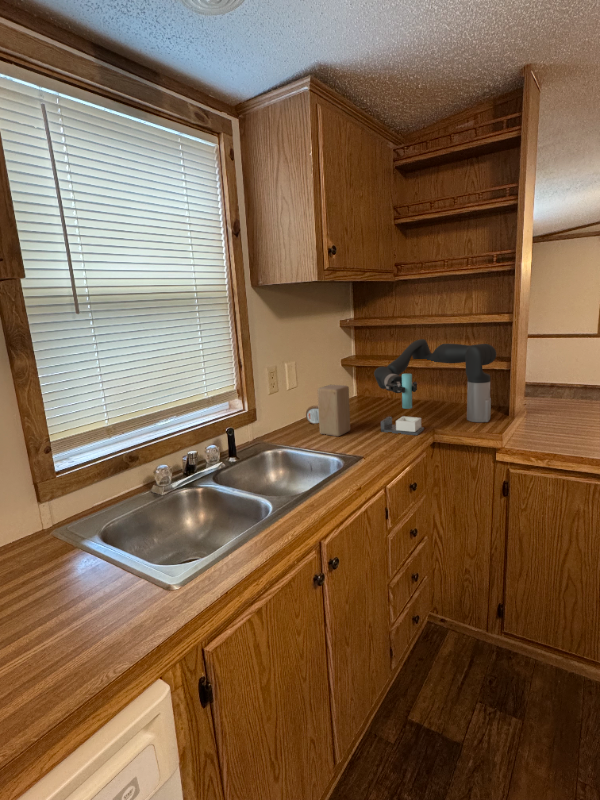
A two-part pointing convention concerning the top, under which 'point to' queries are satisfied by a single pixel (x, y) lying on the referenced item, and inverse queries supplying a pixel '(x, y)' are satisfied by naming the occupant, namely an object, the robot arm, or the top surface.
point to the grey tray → (388, 427)
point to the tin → (313, 414)
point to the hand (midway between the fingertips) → (409, 389)
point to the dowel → (407, 391)
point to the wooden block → (334, 410)
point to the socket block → (408, 424)
